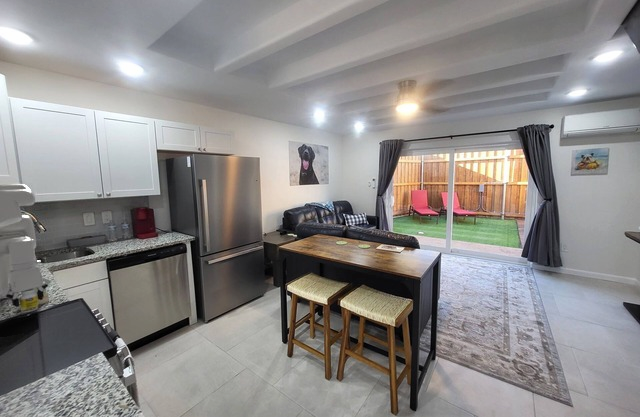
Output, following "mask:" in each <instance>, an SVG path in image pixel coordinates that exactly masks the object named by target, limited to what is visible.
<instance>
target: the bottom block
mask: <svg viewBox="0 0 640 417" xmlns="http://www.w3.org/2000/svg"><path fill="white" fill-rule="evenodd" d="M43 294H44V297H43V300H39V299H38V296H37V300H38V306H39V305H42V304H46V303H49V302H50V298H49V292H48V291H46V293H43Z"/></svg>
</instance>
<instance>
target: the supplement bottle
mask: <svg viewBox="0 0 640 417" xmlns="http://www.w3.org/2000/svg"><path fill="white" fill-rule="evenodd" d="M18 299H19V307H20V312H21V313H25V314H26V313H30V312H34V311H36V310H38V309H39V305H38V300H37V294H36V293H34V289H30V290H26V291H22V292H21V294H20V296H19V297H18Z"/></svg>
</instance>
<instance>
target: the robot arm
mask: <svg viewBox="0 0 640 417" xmlns="http://www.w3.org/2000/svg"><path fill="white" fill-rule="evenodd" d="M35 203H36V197H35V194H34V192H33V191H32V190H31V189H30V188H29V187H28V186H27V185H26V184H23V183H0V235H7V236H2V237H1V236H0V300H2V299H8V298H9V299H11V302H12V306H14V307H16V308H19V307H20V299H19V297H18V296H19V295H20V296H21V292H22V291H26V290H30V289H34V288H37V289H38V291H37V296H38V299H39V300H43V297H44V294H43V291H44V289H45V288H46V289H47V287H48V286H49V285H50V284H51V283H52V280H50V279H48V278H44V277H43V274H42V272H41V268H40V267H39V265H38V264H41V260H40V259H39V260H37V259H36V253H35V252H36V251H35V249H36V248H37V237H36V233H35V232H36V231H35V225H34V221H33V219H32V217H31V216H29V215H27V214H26V215H25V214H22V211H21V208H20V207H29V206H33V205H34V204H35ZM18 233H19V234H18ZM10 234H17V235H10ZM43 282H44V283H45V284H44V285H43ZM42 285H43V286H42ZM41 286H42V287H41Z"/></svg>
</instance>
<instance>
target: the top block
mask: <svg viewBox="0 0 640 417" xmlns="http://www.w3.org/2000/svg"><path fill="white" fill-rule="evenodd" d="M44 284H45V282H44V281H43V285H44ZM43 285H42V286H43ZM42 286H41V287H42ZM37 291H38V289H37V288H34V293H36V294H37ZM46 292H47V287H46V288H45V289H44V291H43V293H46Z"/></svg>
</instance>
